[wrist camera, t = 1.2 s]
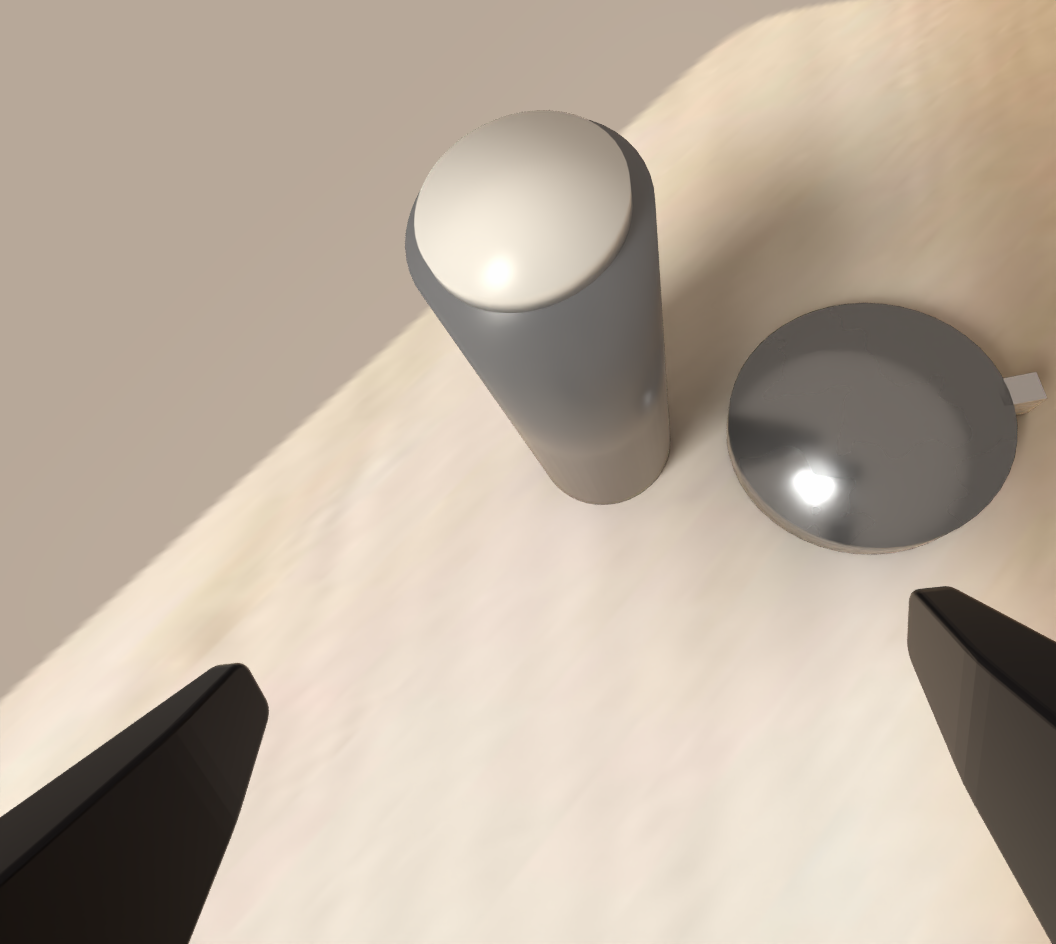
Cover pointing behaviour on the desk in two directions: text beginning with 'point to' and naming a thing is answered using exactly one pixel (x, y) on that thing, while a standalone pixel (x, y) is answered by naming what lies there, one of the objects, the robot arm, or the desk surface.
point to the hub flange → (873, 427)
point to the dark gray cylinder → (553, 292)
